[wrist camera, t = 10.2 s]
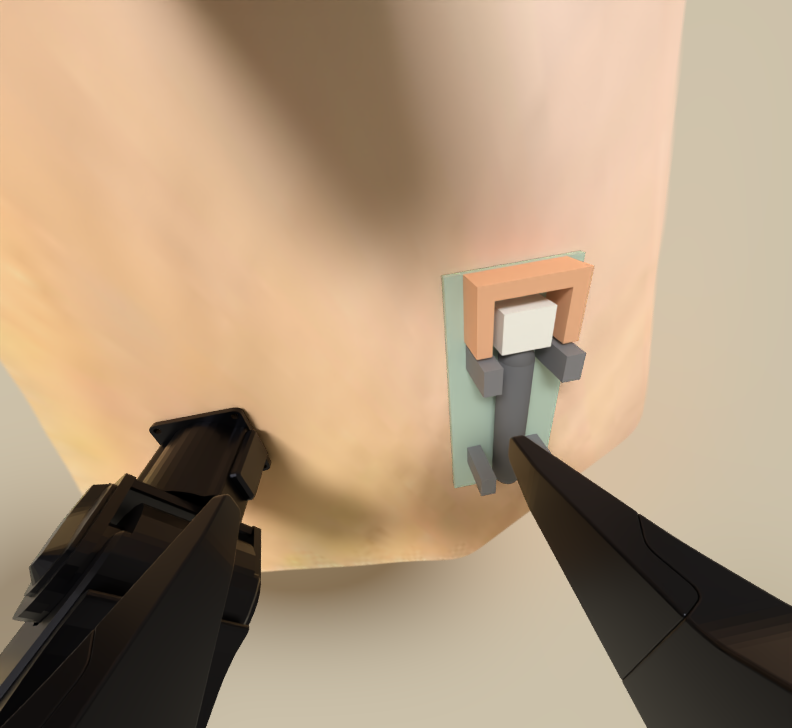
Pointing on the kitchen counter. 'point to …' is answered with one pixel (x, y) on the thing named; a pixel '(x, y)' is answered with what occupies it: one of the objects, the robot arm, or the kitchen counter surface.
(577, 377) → the clip board
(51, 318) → the kitchen counter surface
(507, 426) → the rod
